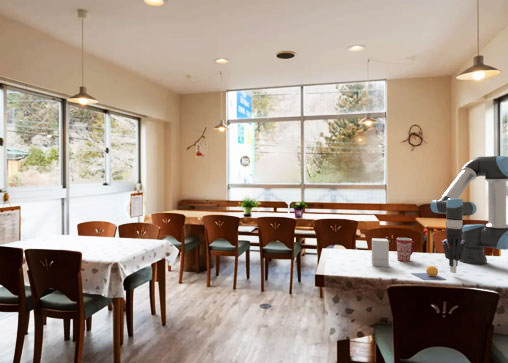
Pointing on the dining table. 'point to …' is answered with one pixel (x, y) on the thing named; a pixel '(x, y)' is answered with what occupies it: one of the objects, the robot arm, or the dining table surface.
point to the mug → (404, 249)
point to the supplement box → (380, 252)
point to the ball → (432, 271)
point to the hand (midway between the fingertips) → (453, 272)
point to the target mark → (427, 276)
